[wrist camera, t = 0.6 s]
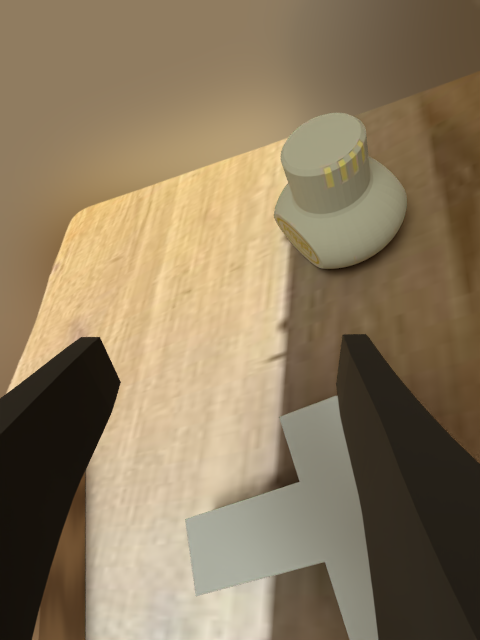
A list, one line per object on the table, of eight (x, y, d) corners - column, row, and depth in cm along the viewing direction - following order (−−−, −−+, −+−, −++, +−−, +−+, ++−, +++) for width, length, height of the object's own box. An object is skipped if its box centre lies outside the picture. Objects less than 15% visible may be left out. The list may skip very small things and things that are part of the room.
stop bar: (84, 759, 22) (29, 806, 18) (60, 762, 22) (2, 810, 19) (85, 467, 31) (48, 464, 28) (68, 474, 32) (30, 472, 28)
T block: (435, 618, 18) (443, 646, 15) (239, 660, 21) (209, 692, 18) (345, 408, 25) (336, 395, 21) (203, 460, 27) (176, 455, 24)
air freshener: (423, 236, 28) (433, 129, 20) (342, 297, 28) (320, 218, 20) (338, 179, 34) (320, 80, 26) (274, 230, 35) (235, 148, 26)
